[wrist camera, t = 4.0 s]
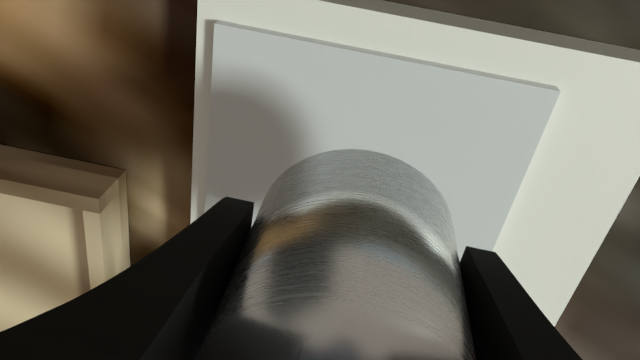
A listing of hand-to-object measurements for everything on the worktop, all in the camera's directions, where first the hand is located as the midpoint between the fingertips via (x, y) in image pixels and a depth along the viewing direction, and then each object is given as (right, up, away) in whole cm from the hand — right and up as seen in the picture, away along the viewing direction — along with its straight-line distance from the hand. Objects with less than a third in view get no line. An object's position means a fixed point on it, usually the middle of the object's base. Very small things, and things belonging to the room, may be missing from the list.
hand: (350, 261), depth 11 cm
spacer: (0, 0, +1) cm, 1 cm away
